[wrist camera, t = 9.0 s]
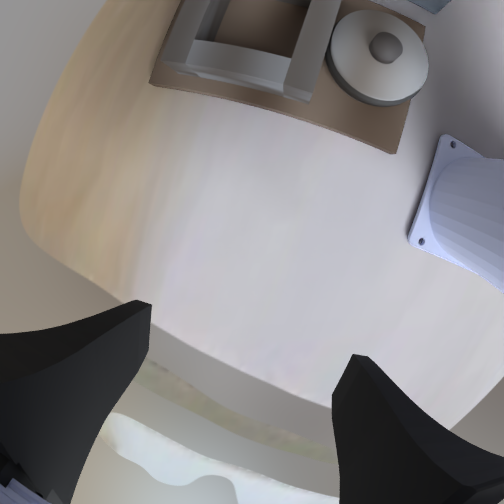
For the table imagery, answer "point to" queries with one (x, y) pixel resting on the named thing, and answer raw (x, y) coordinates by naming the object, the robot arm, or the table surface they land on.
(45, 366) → the robot arm
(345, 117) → the board
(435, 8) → the tray
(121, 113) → the table surface
